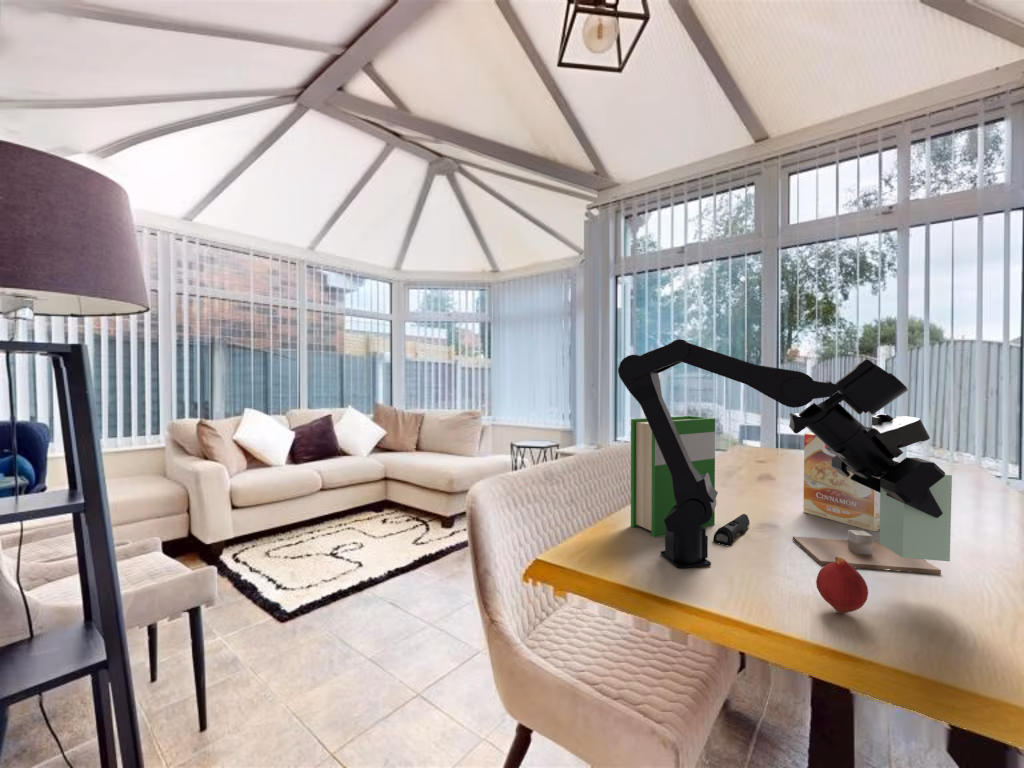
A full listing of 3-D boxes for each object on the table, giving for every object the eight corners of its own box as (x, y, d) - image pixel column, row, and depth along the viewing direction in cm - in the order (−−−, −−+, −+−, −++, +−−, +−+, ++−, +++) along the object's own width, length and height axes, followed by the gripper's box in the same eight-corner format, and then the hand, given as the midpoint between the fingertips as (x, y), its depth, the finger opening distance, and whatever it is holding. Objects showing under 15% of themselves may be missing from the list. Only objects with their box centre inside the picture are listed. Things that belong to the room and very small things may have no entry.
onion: (845, 601, 65) (845, 548, 65) (878, 623, 60) (879, 565, 59) (807, 602, 65) (807, 549, 65) (837, 624, 59) (837, 566, 59)
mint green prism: (902, 557, 65) (904, 473, 64) (879, 542, 70) (880, 465, 70) (949, 561, 63) (952, 475, 63) (922, 546, 69) (924, 466, 69)
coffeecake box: (802, 512, 107) (802, 432, 107) (819, 508, 110) (820, 431, 110) (873, 532, 94) (874, 441, 93) (891, 527, 97) (893, 439, 96)
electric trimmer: (754, 529, 97) (754, 514, 97) (731, 548, 86) (731, 532, 86) (736, 525, 100) (736, 511, 100) (711, 543, 89) (711, 527, 89)
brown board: (820, 565, 78) (820, 541, 78) (792, 540, 89) (792, 519, 89) (940, 574, 74) (941, 549, 74) (895, 547, 86) (895, 525, 86)
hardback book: (654, 537, 91) (655, 422, 91) (630, 526, 98) (630, 419, 98) (714, 524, 99) (715, 418, 98) (688, 515, 106) (689, 415, 105)
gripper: (929, 402, 58) (1029, 490, 56) (853, 395, 76) (926, 461, 74) (859, 458, 60) (953, 546, 58) (801, 438, 78) (871, 504, 76)
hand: (924, 509), depth 66 cm, fingers closed on mint green prism, 6 cm apart
